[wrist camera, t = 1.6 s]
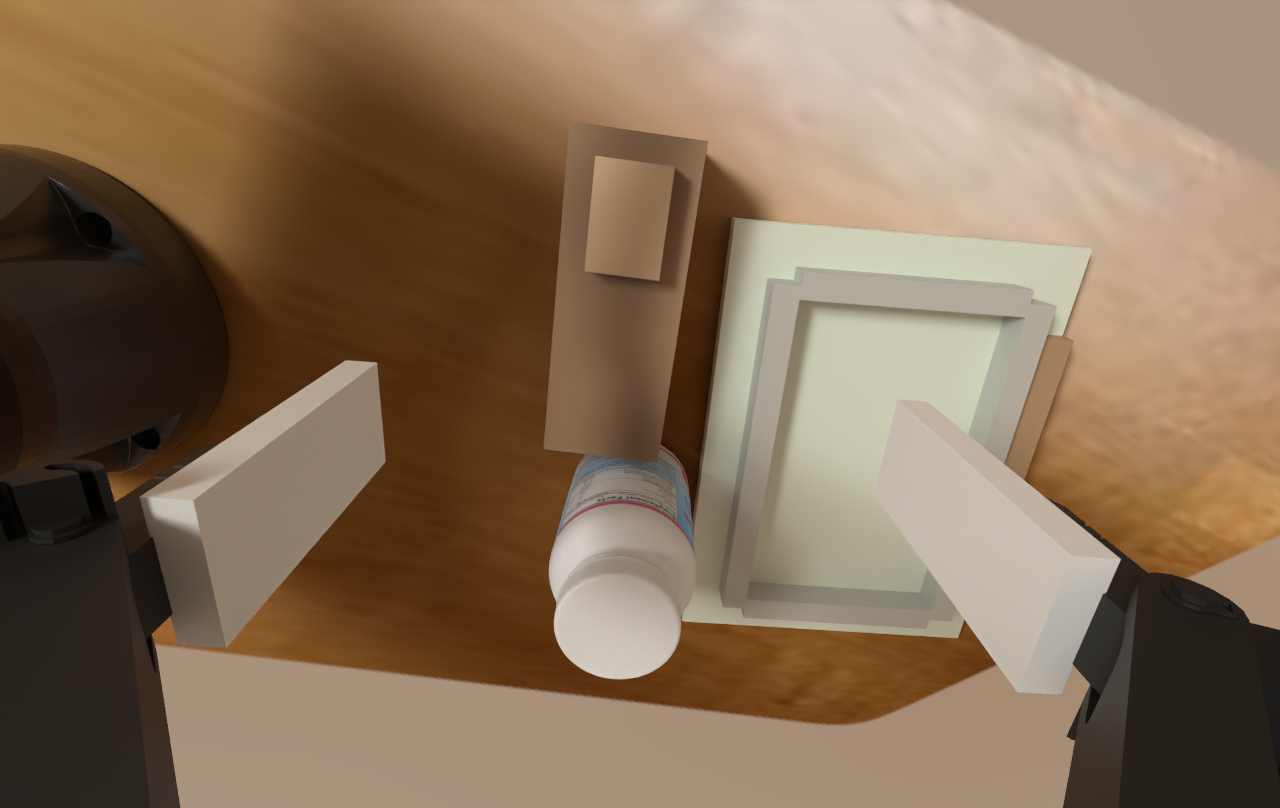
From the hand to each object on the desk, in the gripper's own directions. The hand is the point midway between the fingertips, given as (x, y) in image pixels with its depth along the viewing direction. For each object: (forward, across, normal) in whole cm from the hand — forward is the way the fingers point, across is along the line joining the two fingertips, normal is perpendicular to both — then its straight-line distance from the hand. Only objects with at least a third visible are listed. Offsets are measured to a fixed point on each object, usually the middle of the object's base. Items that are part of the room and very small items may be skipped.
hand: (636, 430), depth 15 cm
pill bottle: (+14, 0, -9) cm, 17 cm away
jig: (+14, +12, -7) cm, 20 cm away
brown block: (+14, -1, +1) cm, 15 cm away
